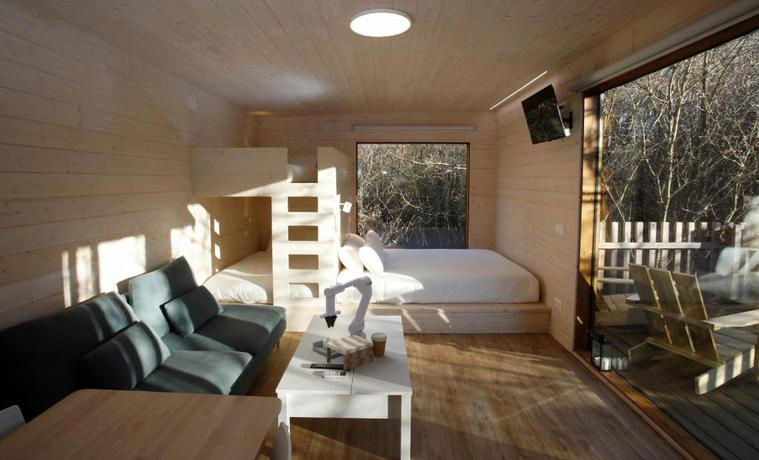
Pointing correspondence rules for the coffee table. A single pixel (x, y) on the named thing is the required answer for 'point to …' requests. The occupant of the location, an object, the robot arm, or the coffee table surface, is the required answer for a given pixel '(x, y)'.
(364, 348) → the wooden slatted crate
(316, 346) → the tray
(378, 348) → the disposable coffee cup
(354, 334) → the robot arm
